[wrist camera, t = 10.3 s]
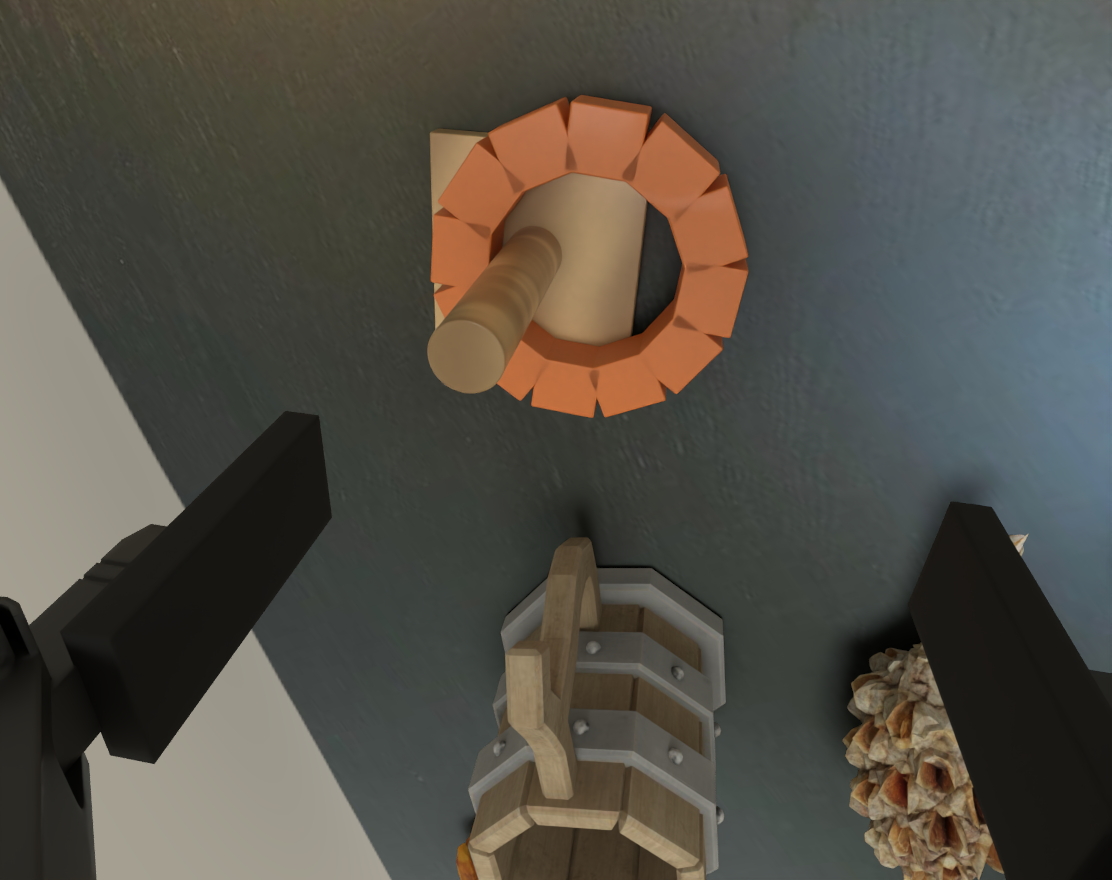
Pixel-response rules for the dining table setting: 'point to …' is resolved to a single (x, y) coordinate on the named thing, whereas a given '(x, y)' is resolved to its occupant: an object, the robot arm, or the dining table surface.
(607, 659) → the tankard
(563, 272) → the rack
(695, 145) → the ring
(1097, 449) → the dining table surface
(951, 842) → the pine cone
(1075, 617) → the dining table surface
